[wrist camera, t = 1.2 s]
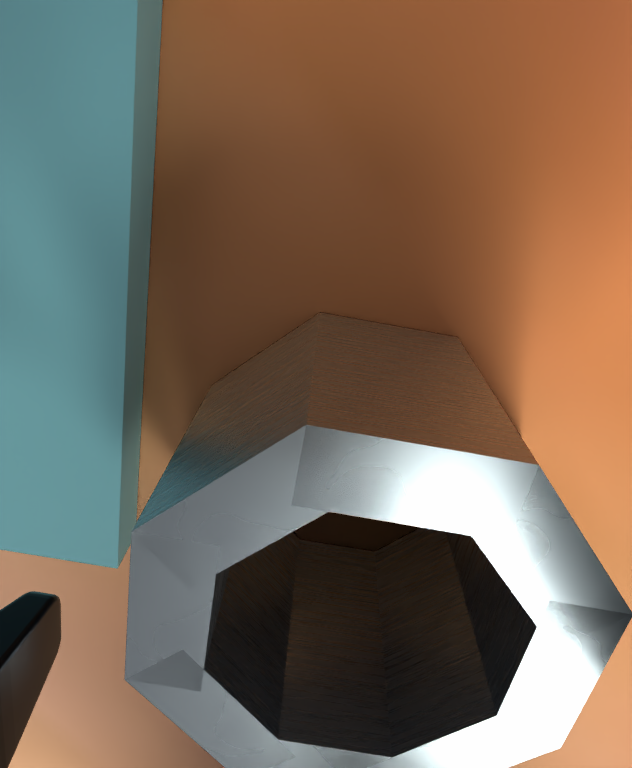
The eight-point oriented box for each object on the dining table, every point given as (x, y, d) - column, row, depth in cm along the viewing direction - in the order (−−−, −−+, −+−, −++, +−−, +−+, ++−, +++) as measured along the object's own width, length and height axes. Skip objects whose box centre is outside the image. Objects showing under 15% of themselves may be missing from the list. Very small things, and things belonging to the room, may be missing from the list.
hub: (461, 604, 14) (519, 822, 10) (193, 560, 14) (121, 761, 9) (553, 354, 11) (698, 492, 7) (221, 294, 11) (138, 395, 7)
